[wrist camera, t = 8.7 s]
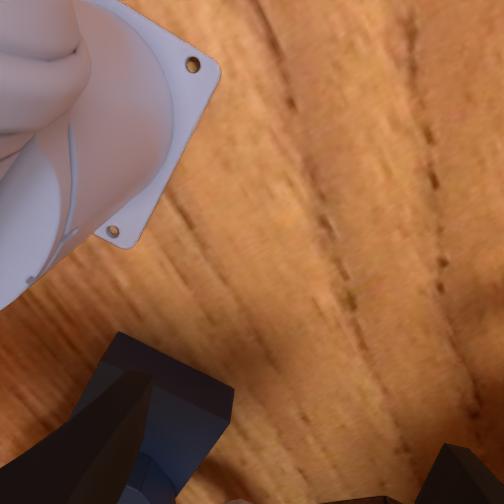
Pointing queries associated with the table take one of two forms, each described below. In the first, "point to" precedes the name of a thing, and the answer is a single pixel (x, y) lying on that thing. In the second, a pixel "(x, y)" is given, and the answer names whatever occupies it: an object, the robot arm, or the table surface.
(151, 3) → the table surface
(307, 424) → the table surface
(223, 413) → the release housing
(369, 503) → the mug
